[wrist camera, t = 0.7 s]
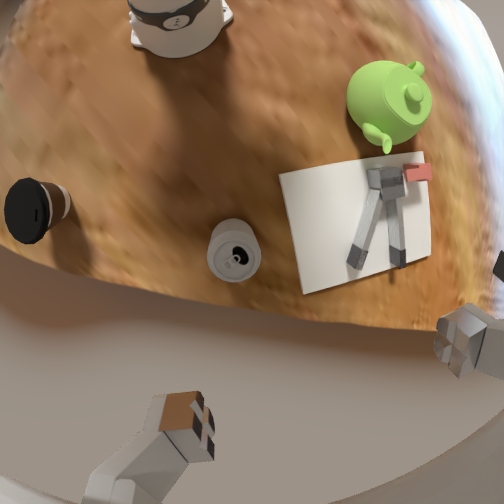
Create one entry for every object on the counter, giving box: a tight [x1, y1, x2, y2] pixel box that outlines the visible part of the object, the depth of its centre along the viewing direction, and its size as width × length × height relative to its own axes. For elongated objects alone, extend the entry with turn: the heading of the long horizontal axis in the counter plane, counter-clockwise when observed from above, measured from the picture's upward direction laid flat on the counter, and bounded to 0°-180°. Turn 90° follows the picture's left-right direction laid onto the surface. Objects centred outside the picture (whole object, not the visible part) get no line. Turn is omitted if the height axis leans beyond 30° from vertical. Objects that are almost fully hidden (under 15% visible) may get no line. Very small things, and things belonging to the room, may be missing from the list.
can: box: [207, 218, 261, 282], centre depth 42 cm, size 8×8×12 cm
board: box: [278, 151, 431, 294], centre depth 48 cm, size 22×30×2 cm
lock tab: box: [403, 163, 432, 182], centre depth 42 cm, size 3×6×6 cm, turn 103°
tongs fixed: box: [366, 166, 406, 269], centre depth 45 cm, size 18×5×5 cm, turn 13°
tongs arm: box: [346, 189, 383, 271], centre depth 45 cm, size 14×2×4 cm, turn 165°
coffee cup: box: [4, 178, 70, 244], centre depth 37 cm, size 11×11×12 cm
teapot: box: [346, 61, 432, 154], centre depth 37 cm, size 22×15×13 cm
